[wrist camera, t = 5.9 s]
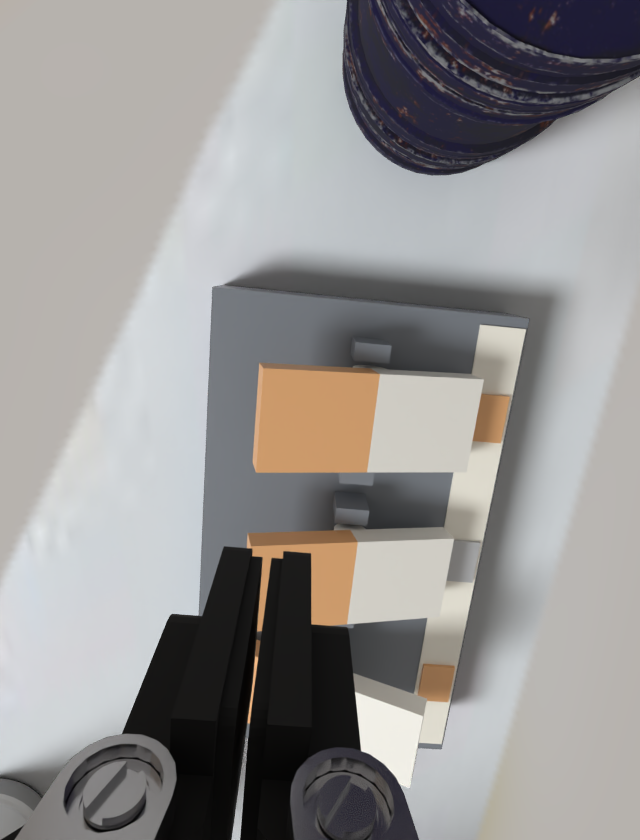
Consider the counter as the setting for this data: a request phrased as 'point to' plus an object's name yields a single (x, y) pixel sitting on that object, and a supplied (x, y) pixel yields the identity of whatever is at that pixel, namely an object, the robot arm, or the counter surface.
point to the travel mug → (15, 805)
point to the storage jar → (479, 72)
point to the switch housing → (370, 491)
